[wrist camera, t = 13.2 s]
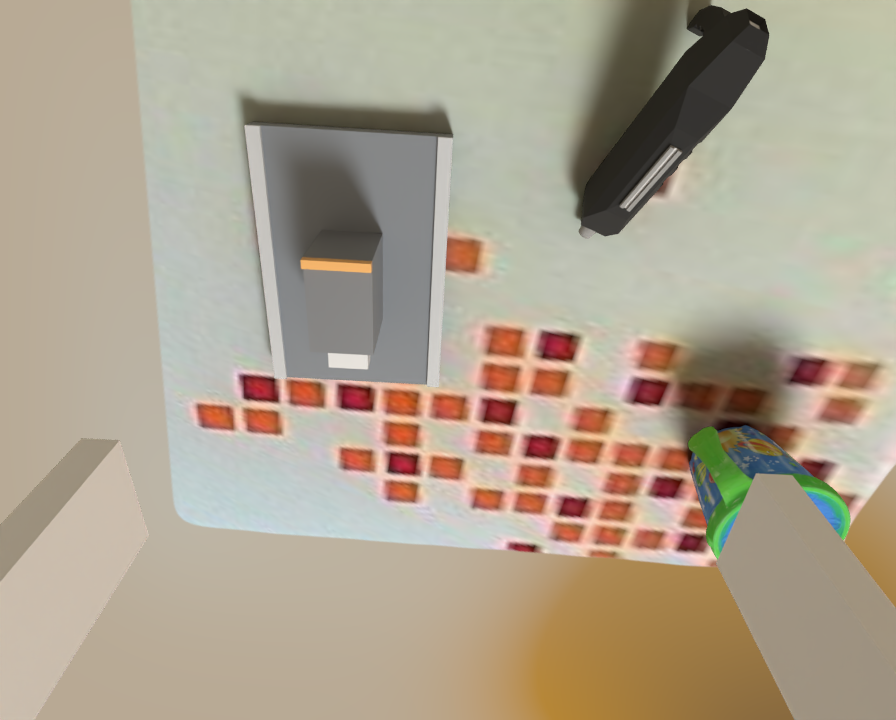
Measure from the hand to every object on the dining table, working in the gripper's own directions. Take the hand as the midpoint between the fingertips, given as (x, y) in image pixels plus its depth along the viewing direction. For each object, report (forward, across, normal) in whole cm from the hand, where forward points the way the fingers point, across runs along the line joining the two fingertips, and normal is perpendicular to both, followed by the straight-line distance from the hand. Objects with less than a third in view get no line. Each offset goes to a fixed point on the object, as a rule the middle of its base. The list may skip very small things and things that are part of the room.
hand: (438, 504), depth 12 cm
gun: (+33, +13, +4) cm, 36 cm away
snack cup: (+33, +28, -24) cm, 49 cm away
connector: (+31, -7, -9) cm, 33 cm away
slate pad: (+33, -7, -7) cm, 34 cm away
